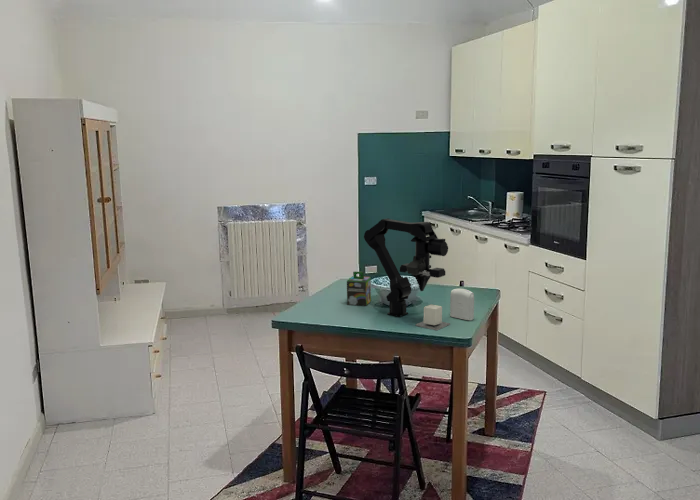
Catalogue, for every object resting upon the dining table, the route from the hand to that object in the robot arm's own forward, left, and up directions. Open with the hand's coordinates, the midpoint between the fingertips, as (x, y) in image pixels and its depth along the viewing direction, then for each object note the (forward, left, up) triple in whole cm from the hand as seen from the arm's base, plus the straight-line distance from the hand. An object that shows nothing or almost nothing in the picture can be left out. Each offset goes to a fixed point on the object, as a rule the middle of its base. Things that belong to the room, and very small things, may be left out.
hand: (421, 290), depth 259 cm
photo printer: (+12, +12, -12) cm, 21 cm away
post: (+8, -4, -12) cm, 15 cm away
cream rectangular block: (+8, -4, -11) cm, 14 cm away
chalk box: (-36, +4, -12) cm, 38 cm away
